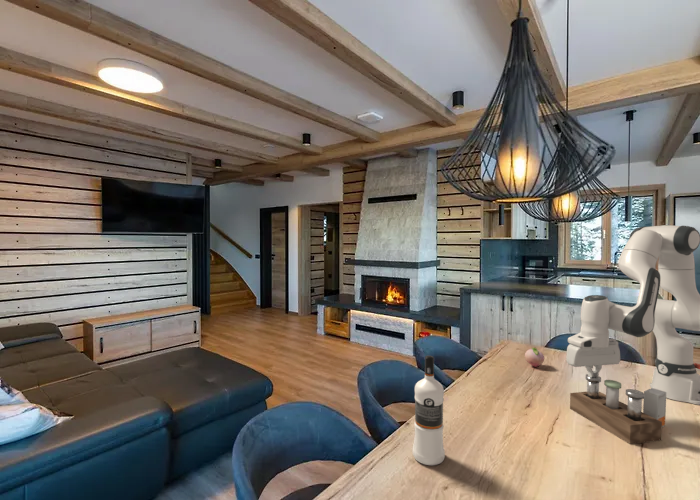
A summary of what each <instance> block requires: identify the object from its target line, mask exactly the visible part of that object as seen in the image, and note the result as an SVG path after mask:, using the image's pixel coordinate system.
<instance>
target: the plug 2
mask: <svg viewBox="0 0 700 500" xmlns="http://www.w3.org/2000/svg"><path fill="white" fill-rule="evenodd" d="M625 395H626V396H627V405H628V407H627V417H628V418H629V419H631V420H633V421H641V412H642V411H643V408H642V407H643V406H642V403H643V402H642V401H643V400H644V391H641V390H637V389H633V388H632V389H631V388H628V389H625Z"/></svg>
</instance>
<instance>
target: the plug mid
mask: <svg viewBox="0 0 700 500" xmlns="http://www.w3.org/2000/svg"><path fill="white" fill-rule="evenodd" d="M603 384H604V386H605V387H606V388H605V389H606V390H605V391H606V392H605V395H606V407H608V408H610V409H612V410H614V409H619V401H620V389H622V383H621V382H619V381H617V380H613V379H605V380H604V383H603Z"/></svg>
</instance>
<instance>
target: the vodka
mask: <svg viewBox="0 0 700 500" xmlns="http://www.w3.org/2000/svg"><path fill="white" fill-rule="evenodd" d="M434 365H435V357H434V356H432V355H426V356H425V357H424V378H422V379H420V380H418V381H417V382H416V383H415V384H414V401H415V402H414V403H415V404H414V423H413V424H414V438H413V445H412V456H413V457H414V459H415V461H417V462H418V463H421V464H422V465H425V466H438V465H439V464H442V463H443V461H444V460H445V458H446V456H445V455H446V454H445V453H446V452H445V447H444V439H443V437H444V434H443V433H444V401H445V400H444V396H445V395H444V394H445V390H444V387H443V385H442V384H441V382H439V381H438V380H436V379H435V373H434V372H435V366H434Z"/></svg>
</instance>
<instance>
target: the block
mask: <svg viewBox="0 0 700 500" xmlns="http://www.w3.org/2000/svg"><path fill="white" fill-rule="evenodd" d="M569 395H570V396H569V403H570V404H569V409H570V410H572V411H573V412H575V413H576V414H579V415H580V416H582V417H583V418H585V419H587V420H588V421H590V422H592V423H594V424H595V425H597V426H598V427H600V428H601V429H604V430H605V431H607V432H609V433H610V434H612V435H614V436H616V437H617V438H619V439H621V440H622V441H624V442H626V443H627V444H629V445H633V444H641V443H642V444H643V443H650V442H657V441H658V442H659V441H662V430H663V427H662V422H661V421H659V420H657V419H655V418H653V417H651V416H649V415H647V414H645V413H643V411H641V421H633V420H631V419H629V418H628V417H627V407H628V404H625V403H624V402H622V401H621V400H619V409H614V410H612V409H610V408H608V407H606V393H603V392H601V391H599V399H591V398H589V397H587V391H578V392H570V393H569Z"/></svg>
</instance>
